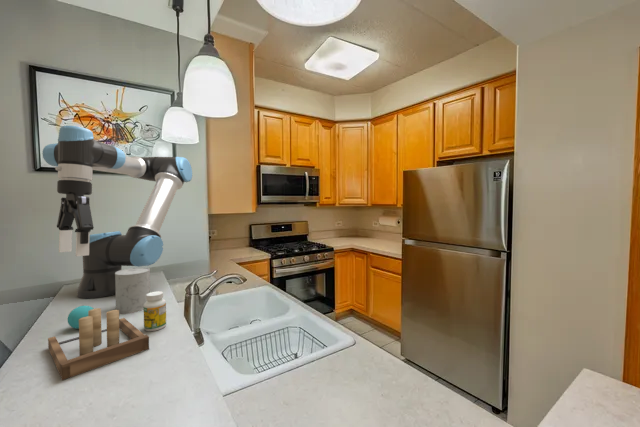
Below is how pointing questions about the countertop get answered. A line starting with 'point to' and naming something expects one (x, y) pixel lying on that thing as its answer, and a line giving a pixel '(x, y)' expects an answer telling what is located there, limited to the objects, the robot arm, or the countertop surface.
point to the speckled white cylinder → (131, 289)
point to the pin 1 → (85, 335)
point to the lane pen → (99, 352)
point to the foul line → (76, 338)
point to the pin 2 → (112, 327)
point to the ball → (78, 315)
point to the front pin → (96, 326)
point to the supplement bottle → (154, 311)
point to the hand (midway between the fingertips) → (73, 253)
